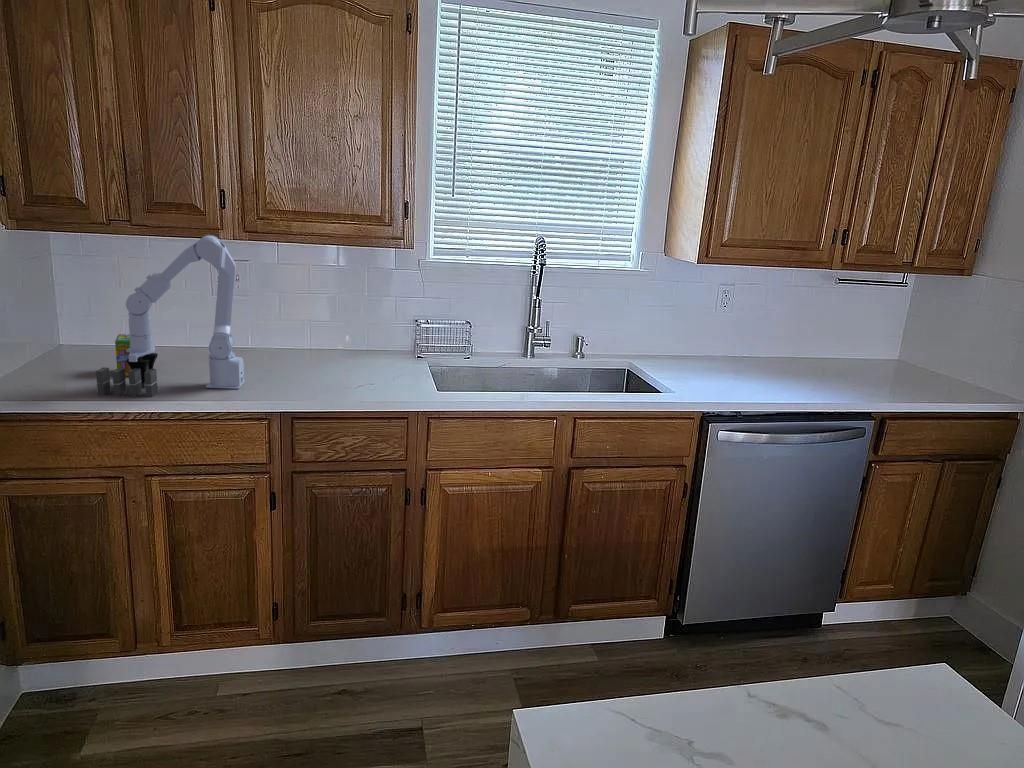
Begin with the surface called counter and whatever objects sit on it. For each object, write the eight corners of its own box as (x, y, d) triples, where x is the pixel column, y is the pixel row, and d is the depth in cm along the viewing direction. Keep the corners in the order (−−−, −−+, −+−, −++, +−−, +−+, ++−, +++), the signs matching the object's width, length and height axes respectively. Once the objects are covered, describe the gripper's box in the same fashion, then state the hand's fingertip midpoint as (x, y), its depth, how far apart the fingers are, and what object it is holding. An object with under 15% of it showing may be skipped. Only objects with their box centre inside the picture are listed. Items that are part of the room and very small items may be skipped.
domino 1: (110, 391, 205) (108, 367, 203) (104, 395, 201) (102, 371, 199) (104, 391, 205) (102, 367, 203) (98, 395, 200) (95, 371, 199)
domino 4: (150, 384, 213) (148, 361, 212) (144, 388, 209) (143, 365, 207) (144, 384, 213) (142, 361, 211) (138, 388, 209) (137, 365, 207)
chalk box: (120, 369, 227) (117, 323, 223) (153, 369, 230) (150, 323, 227) (116, 377, 219) (112, 329, 215) (150, 376, 222) (147, 329, 218)
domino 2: (126, 391, 205) (124, 368, 203) (120, 396, 201) (118, 371, 199) (120, 391, 205) (118, 367, 203) (114, 396, 201) (112, 371, 199)
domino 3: (142, 392, 206) (140, 368, 204) (136, 396, 202) (134, 372, 200) (136, 392, 206) (134, 368, 204) (130, 396, 201) (128, 372, 200)
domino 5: (157, 392, 206) (156, 369, 205) (152, 397, 202) (150, 372, 200) (151, 392, 206) (150, 368, 204) (146, 397, 202) (144, 372, 200)
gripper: (135, 329, 214) (138, 373, 217) (115, 339, 200) (119, 386, 203) (160, 330, 215) (163, 374, 218) (142, 340, 201) (145, 387, 204)
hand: (144, 380), depth 211 cm, fingers closed on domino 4, 4 cm apart
